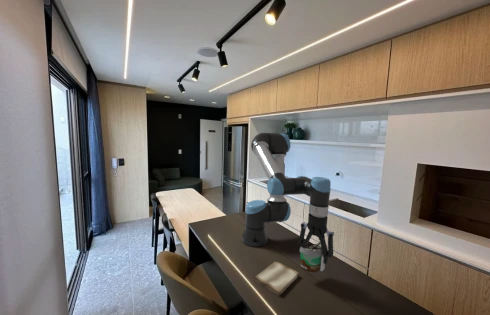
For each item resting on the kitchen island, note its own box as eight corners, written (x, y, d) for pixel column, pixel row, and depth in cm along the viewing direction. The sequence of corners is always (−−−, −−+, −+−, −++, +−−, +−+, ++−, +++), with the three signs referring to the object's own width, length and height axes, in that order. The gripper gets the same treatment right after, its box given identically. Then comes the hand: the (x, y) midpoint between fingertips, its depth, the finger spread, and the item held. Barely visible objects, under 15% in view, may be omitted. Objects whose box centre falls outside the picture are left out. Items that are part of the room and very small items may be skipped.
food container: (308, 277, 81) (310, 254, 80) (298, 268, 87) (299, 246, 85) (329, 269, 87) (331, 247, 86) (318, 261, 92) (320, 240, 91)
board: (254, 281, 85) (254, 276, 85) (275, 264, 97) (275, 260, 97) (279, 296, 77) (279, 291, 77) (298, 276, 89) (298, 272, 89)
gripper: (292, 209, 88) (288, 258, 91) (340, 224, 75) (334, 281, 77) (300, 205, 94) (296, 252, 96) (346, 219, 81) (340, 272, 83)
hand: (313, 265), depth 87 cm, fingers closed on food container, 7 cm apart
